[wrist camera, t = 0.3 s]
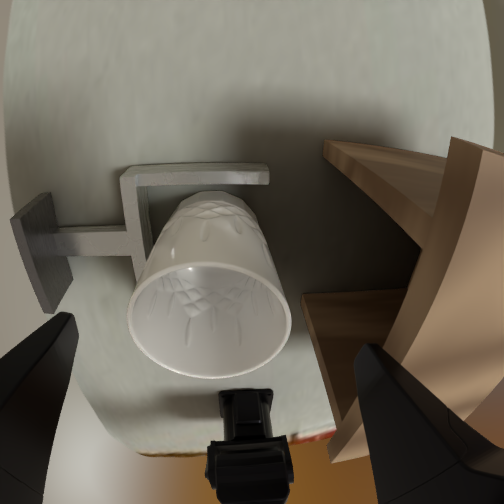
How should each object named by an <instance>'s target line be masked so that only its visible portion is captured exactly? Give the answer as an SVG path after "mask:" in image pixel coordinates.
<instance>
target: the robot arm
mask: <svg viewBox="0 0 504 504" xmlns="http://www.w3.org/2000/svg"><path fill="white" fill-rule="evenodd" d="M78 339H79V333H78V329H77V325H76V321H75V317H74V315H73V314H72V313H67V312H59V313H58V314H57V315H55V316H54V317H53V318H51V319H50V320H49V321H47V322H46V323H45V324H43V325H42V326H41V327H39V328H38V329H37V330H36V331H34V332H33V333H32V334H30V335H29V336H28V337H27V338H25V339H24V340H23V341H21V342H20V343H19V344H18V345H17V346H15V347H14V348H13V349H11V350H10V351H9V352H8V353H7V354H5V355H4V356H3V357H2V358H0V504H42V502H43V494H44V488H45V481H46V475H47V469H48V465H49V459H50V455H51V450H52V446H53V441H54V437H55V433H56V429H57V425H58V421H59V417H60V413H61V410H62V406H63V402H64V399H65V396H66V392H67V389H68V385H69V381H70V376H71V372H72V367H73V362H74V357H75V352H76V348H77V344H78ZM354 371H355V379H356V386H357V394H358V402H359V407H360V412H361V417H362V421H363V426H364V430H365V435H366V440H367V444H368V449H369V454H370V459H371V464H372V470H373V475H374V480H375V486H376V492H377V499H378V504H504V449H503V448H500V447H498V446H496V445H494V444H493V443H491V442H490V441H489V440H487V439H486V438H485V437H483V436H482V435H481V434H480V433H478V432H477V431H476V430H474V429H473V428H472V427H470V426H469V425H468V424H467V423H466V422H464V421H463V420H462V419H461V418H460V417H459V416H457V415H456V414H455V413H454V412H453V411H452V410H451V409H450V408H449V407H447V406H446V405H445V404H444V403H443V402H442V401H441V400H440V399H439V398H437V397H436V396H435V395H434V394H433V393H432V392H431V391H430V390H429V389H428V388H426V387H425V386H424V385H423V384H422V383H421V382H420V381H419V380H418V379H416V378H415V377H414V376H413V375H412V374H411V373H410V372H409V371H408V370H406V369H405V368H404V367H403V366H402V365H401V364H400V363H399V362H397V361H396V360H395V359H394V358H393V357H392V356H391V355H390V354H388V353H387V352H386V351H385V350H384V349H383V348H382V347H381V346H379V345H378V344H377V343H366V344H364V345H363V347H362V348H361V350H360V351H359V353H358V355H357V356H356V358H355V360H354ZM272 400H273V390H256V391H227V392H220V393H219V404H220V414H221V418H223V421H224V441H211V444H210V446H207V464H206V470H205V478H207V479H208V480H209V482H210V484H211V487H212V489H216V494H217V499H218V500H219V501H220V503H221V504H286V502H287V499H288V495H289V493H290V489H289V484H292V483H294V473H293V465H292V460H291V456H290V451H289V447H288V442H287V438H286V435H281V436H279V437H273V433H272V426H271V419H270V410H271V405H272Z"/></svg>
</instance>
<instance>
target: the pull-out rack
mask: <svg viewBox="0 0 504 504" xmlns="http://www.w3.org/2000/svg"><path fill="white" fill-rule="evenodd" d="M269 173H270V172H269V170H268V168H267V166H266V164H265V163H187V164H161V165H143V166H131V167H130V168H129V169H128V170H127V171H126V172H125V173H124V174H123V175H122V176H121V177H120V178H119V179H120V187H121V195H122V202H123V209H124V216H125V223H126V225H114V226H87V227H64V228H58V224H57V220H56V216H55V211H54V207H53V202H52V197H51V192H50V193H41V194H40V195H38V196H37V197H36V198H35V199H33V200H32V201H31V202H30V203H28V204H27V205H26V206H25V207H24V208H22V209H21V210H20V211H19V212H18V213H16V214H15V215H14V216H13V217H12V218H11V219H10V223H11V226H12V229H13V233H14V236H15V239H16V242H17V245H18V249H19V251H20V255H21V257H22V260H23V263H24V266H25V269H26V271H27V274H28V276H29V279H30V282H31V284H32V286H33V289H34V292H35V294H36V296H37V299H38V301H39V303H40V305H41V308H42V310H43V312H44V313H48V314H54V312H55V311H56V309H57V307H58V305H59V303H60V301H61V300H62V298H63V296H64V294H65V293H66V291H67V289H68V287H69V286H70V284H71V282H72V281H73V277H72V274H71V271H70V267H69V264H68V261H67V258H66V256H131V257H132V262H133V267H134V272H135V277H136V282H138V280H139V278H140V275H141V273H142V271H143V269H144V266H145V264H146V262H147V260H148V257H149V255H150V253H151V251H152V249H153V247H154V246H153V239H152V231H151V223H150V214H149V205H148V196H147V186H160V185H193V184H268V185H269Z"/></svg>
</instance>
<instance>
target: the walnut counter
mask: <svg viewBox="0 0 504 504" xmlns="http://www.w3.org/2000/svg"><path fill="white" fill-rule="evenodd" d="M322 156H323V157H324V158H325V159H327V160H328V161H329V162H330V163H331V164H333V165H334V166H335V167H336V168H337V169H338V170H340V171H341V172H342V173H343V174H344V175H345V176H347V177H348V178H349V179H350V180H351V181H352V182H354V183H355V184H356V185H357V186H358V187H359V188H360V189H361V190H362V191H364V192H365V193H366V194H367V195H368V196H369V197H370V198H371V199H372V200H373V201H374V202H376V203H377V204H378V205H379V206H380V207H381V208H382V209H383V210H384V211H385V212H386V213H387V214H388V215H389V216H390V217H391V218H392V219H393V220H394V221H395V222H396V223H397V224H398V225H399V226H400V227H401V228H402V229H403V230H404V231H405V232H406V233H407V234H408V235H409V236H410V237H411V238H412V239H413V240H414V241H415V242H416V243H417V244H418V245H419V246H420V247H421V250H420V253H419V256H418V259H417V262H416V265H415V268H414V271H413V273H412V276H411V279H410V281H409V284H408V287H407V288H398V289H384V290H369V291H352V292H334V293H312V294H302V299H301V308H302V311H303V314H304V317H305V321H306V324H307V327H308V330H309V334H310V337H311V340H312V344H313V347H314V351H315V354H316V357H317V361H318V364H319V368H320V371H321V374H322V378H323V381H324V385H325V388H326V392H327V395H328V399H329V403H330V406H331V410H332V413H333V417H334V421H335V424H336V428H337V431H336V432H335V434H334V435H333V437H332V438H331V440H330V442H329V443H328V444H327V449H328V453H329V458H330V461H331V463H335V462H340V461H345V460H349V459H353V458H358V457H362V456H366V455H370V454H369V449H368V444H367V440H366V435H365V430H364V426H363V421H362V417H361V412H360V407H359V402H358V394H357V386H356V379H355V371H354V360H355V358H356V356H357V355H358V353H359V351H360V350H361V348H362V347H363V345H364V344H366V343H377V344H378V345H379V346H381V347H382V348H383V349H384V350H385V351H386V352H387V353H388V354H390V355H391V356H392V357H393V358H394V359H395V360H396V361H397V362H399V363H400V364H401V365H402V366H403V367H404V368H405V369H406V370H408V371H409V372H410V373H411V374H412V375H413V376H414V377H415V378H416V379H418V380H419V381H420V382H421V383H422V384H423V385H424V386H425V387H426V388H428V389H429V390H430V391H431V392H432V393H433V394H434V395H435V396H436V397H437V398H439V399H440V400H441V401H442V402H443V403H444V404H445V405H446V406H447V407H449V408H450V409H451V410H452V411H453V412H454V413H455V414H456V415H457V416H459V417H460V418H461V419H462V420H463V421H464V420H465V419H466V418H467V417H468V416H469V415H470V414H471V412H473V411H474V409H476V407H477V406H478V405H479V404H480V403H481V402H482V401H483V400H484V399H485V398H486V397H487V395H488V394H489V393H490V392H491V391H492V390H493V389H494V388H495V386H496V385H497V384H498V383H499V382H500V381H501V379H502V378H503V377H504V153H501V152H499V151H496V150H493V149H490V148H487V147H484V146H481V145H478V144H475V143H472V142H469V141H465V140H462V139H459V138H455V137H452V136H451V140H450V146H449V151H448V156H447V158H443V157H438V156H433V155H429V154H423V153H418V152H413V151H407V150H401V149H395V148H389V147H382V146H376V145H368V144H361V143H353V142H344V141H334V140H324V146H323V155H322Z"/></svg>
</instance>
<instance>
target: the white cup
mask: <svg viewBox="0 0 504 504" xmlns="http://www.w3.org/2000/svg"><path fill="white" fill-rule="evenodd" d="M291 324H292V320H291V313H290V309H289V306H288V303H287V300H286V297H285V294H284V291H283V288H282V285H281V282H280V279H279V276H278V273H277V270H276V267H275V264H274V261H273V258H272V255H271V253H270V250H269V248H268V245H267V242H266V240H265V237H264V235H263V233H262V231H261V229H260V228H259V225H258V222H257V218H256V215H255V214H254V213H253V211H252V210H251V209H250V208H249V207H248V206H247V204H246V203H245V202H244V201H243V200H242V199H240V198H238V197H236V196H233V195H231V194H229V193H226V192H224V191H201V192H198V193H196V194H194V195H192V196H191V197H189V198H187V199H185V200H183V201H181V202H180V204H179V205H178V207H177V208H176V209H175V211H174V212H173V213H172V215H171V216H170V218H169V220H168V222H167V223H166V225H165V226H164V228H163V230H162V232H161V234H160V235H159V237H158V239H157V241H156V243H155V245H154V247H153V249H152V251H151V253H150V255H149V257H148V260H147V262H146V264H145V266H144V269H143V271H142V273H141V275H140V278H139V280H138V282H137V285H136V287H135V289H134V292H133V294H132V296H131V299H130V301H129V304H128V308H127V325H128V329H129V332H130V334H131V337H132V339H133V340H134V342H135V343H136V345H137V346H138V347H139V349H140V350H141V351H142V352H143V353H144V354H145V355H146V356H147V357H148V358H150V359H151V360H152V361H154V362H155V363H157V364H158V365H160V366H162V367H164V368H166V369H168V370H170V371H173V372H176V373H179V374H182V375H186V376H190V377H196V378H206V379H218V378H228V377H234V376H238V375H242V374H245V373H248V372H251V371H253V370H255V369H258V368H260V367H261V366H263V365H265V364H266V363H268V362H269V361H270V360H272V359H273V358H274V357H275V356H276V355H277V354H278V353H279V352H280V351H281V350H282V348H283V347H284V345H285V344H286V342H287V340H288V337H289V335H290V331H291Z"/></svg>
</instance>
